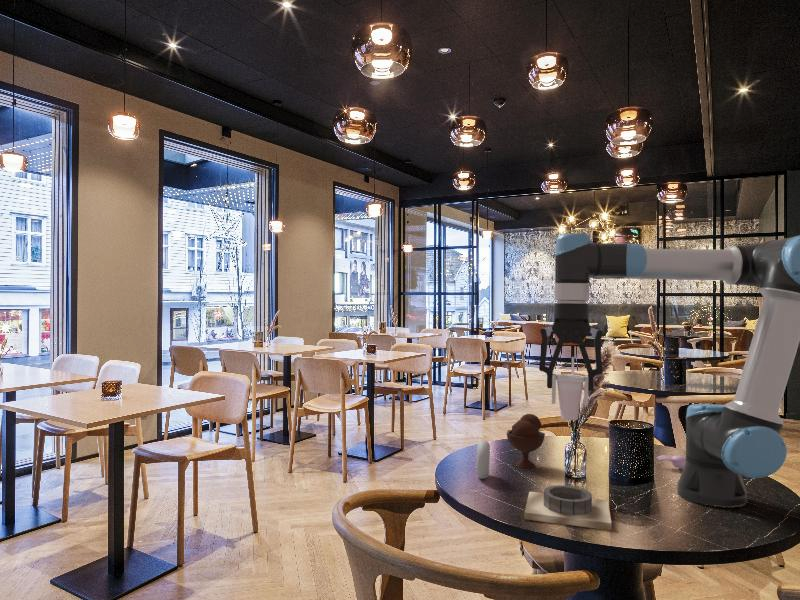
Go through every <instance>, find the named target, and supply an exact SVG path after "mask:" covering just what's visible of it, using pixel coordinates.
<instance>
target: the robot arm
mask: <svg viewBox="0 0 800 600" xmlns="http://www.w3.org/2000/svg"><path fill="white" fill-rule="evenodd" d="M554 258H555V259H554V260H555V261H554V264H555V265H554V266H555V267H554V268H555V269H554V271H555V273H554V279H555V280H554V300H555V301H556V303H555V304H554V305H553V307H554V311H553V312H554V317H553V323H552V324H551V326H547V327H542V328H540V336H541V345H540V347H541V348H540V356H539V357H540V358H539V365H538V366H539V367H538V369H539V371H540V372H543V373H545V374H546V387H547V389H551V404H552V405H555V404H556V398H557V396H556V393H557V389H556V388H557V380H556V375H557V373H554V370H555V367H556V365H557V361H558V359H559V356H560V353H561V351H562V348H563V347H564V344H574V345H575V344H576V345H578V347H579V349H580V350H579V351H580V353H581V357H582V361H583V363H584V366H585V368H586V372H587V374H586V375H584V377H585V381H584V382H583V385H584V386H583V388H584V390H583V391H584V393H583V404H584V405H583V406H584V407H588V406H589V392H592V391H594V386H595V384H594V382H595V381H594V380H595V377H596V376H598V375H601V374H603V361H602V346H601V345H602V344H601V339H602V337H603V334H604V332H603V330H602V329H600V328H599V329H596V328H594V327H591V325H590V319H589V318H590V316H589V315H590V305H589V303H587V302H589V301H590V278H591V279H595V280H602V279H608V280H609V279H616V280H617V279H618V280H619V279H625V280H626V279H628V280H629V279H631V280H632V279H633V280H635V279H636V280H638V279H639V280H682V281H684V280H686V281H687V280H689V281H723V282H724V283H725V284H727V285H729V286H730V285H732V286H734V285H735V286H736V285H737V286H738V285H739V286H747V287H754V288H755V287H756V288H758V290H759V293H760V294H761V296H762V297H763V302H762V306H761V309H760V313H759V314H758V318H757V319H758V320H757V322H756V325H755V328H754V330H753V331H754V332H753V336H752V338H751V341H750V345H749V348H748V352H747V354H746V359H745V361H744V362H745V363H744V366H743V368H742V372H741V375H740V378H739V381H738V385H737V388H736V393H735V395H734V398H733V399H732V400H731V401H729V402H727V403H725V404H712V403H709V404H708V403H692V404H690V405H688V406H687V408H686V416H685V423H686V424H685V429H686V430H685V458H686V463H685V466H684V468H683V470H681V474H680V476H679V479H678V480H677V481H678V482H677V488H676V489H677V490H676V491H677V494H678V495H679V496H680V497H682V498H683V499H685V500H687V501H689V502H692V501H693V502H692V503H695V502H697V503H696V504H698V503H701V504H700V505H702V504H708V505H721V506H735V505H740V504H744V503H746V502H747V503H748V492H747V489H746V485H745V482H744V480H743V477H746V478H748V479H749V478H750V479H763V478H766V477H768V476H770V475H774V474H775V473H777V472H778V471H779V470H780V469H781V468H782V467H783V465H784V463H785V461H786V459H787V456H788V455H787V453H788V450H787V449H788V448H787V445H786V443H785V441H784V438H783V437H782V436H781V433H782V430H783V426H784V421H783V420H782V418H781V416H780V415H779V410H780V407H781V404H782V401H783V397H784V394H785V391H786V387H787V384H788V380H789V378H790V375H791V371H792V367H793V365H794V362H795V357H796V355H797V352H798V351H797V350H798V348H799V345H800V234H799V235H794V236H792V237H786V238H780V239H772V240H767V241H764V242H763V241H762V242H758V243H752V244H745V245H729V246H727V247H726V248H725V249H712V248H711V249H707V248H706V249H704V248H702V249H700V248H699V249H697V248H691V249H689V248H675V249H674V248H645V247H644V246H643V244H639V243H631V242H628V243H596V242H592V240H591V235H590V234H587V233H575V232H574V233H563V234H560V235H558V237H557V238H556V242H555V253H554ZM552 332H553V333H554V334H555V336H556V337H557V339H558V341H557V344H556V346H555V348H554V352H553V355H552V357H551V360H550V362H549V366H547V365H546V362H547V361H546V360H547V353H548V352H547V351H548V343H549V337H550V336H551V335H552ZM589 333H591V337H592V339H593V340H594V341H593V343H594V357H595V368H594V369H593V367H592V363H591V361H590V357H589V355H588V351H587V349H586V345H585V342H584V340H585V339H586V337H587V336H588V335H589Z"/></svg>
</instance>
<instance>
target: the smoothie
mask: <svg viewBox="0 0 800 600" xmlns="http://www.w3.org/2000/svg"><path fill="white" fill-rule="evenodd" d="M584 381H585V375H581V374H575V356H571V373H560V374H559V373H558V374H556V386H557V391H558V392H557V394H558V401H559V409H560V411H559V412H560V418H561V419H562V420H566V421H577V420H579V414H580V407H581V401H582V393H583V388H584V386H583V385H584Z"/></svg>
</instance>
